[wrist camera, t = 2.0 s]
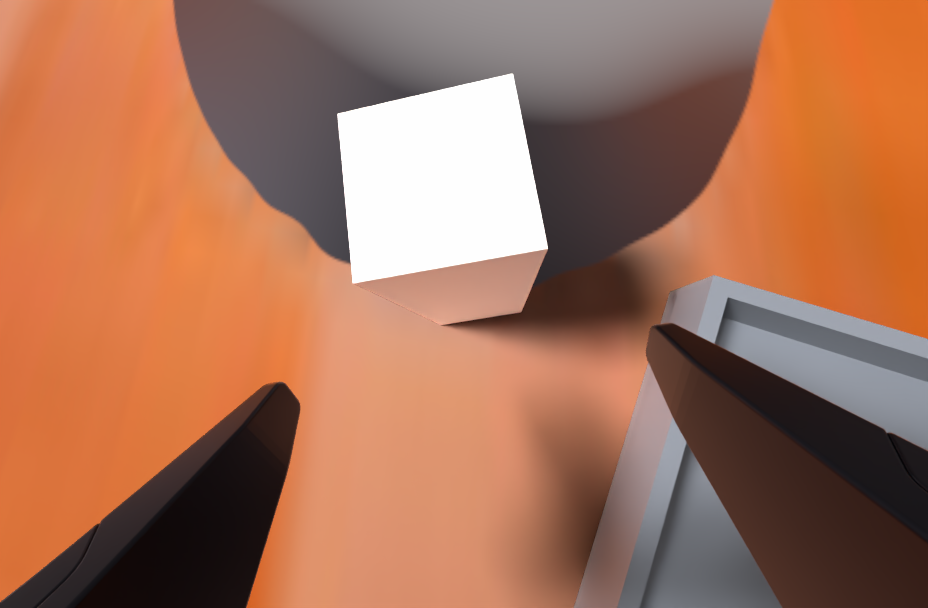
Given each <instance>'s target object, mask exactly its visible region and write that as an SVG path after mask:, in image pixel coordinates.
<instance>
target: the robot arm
mask: <svg viewBox="0 0 928 608" xmlns="http://www.w3.org/2000/svg"><path fill="white" fill-rule="evenodd" d="M646 357H647V360H648V362H649V365H650V367H651V369H652V372H653V374H654V376H655V378H656V381H657V383H658V385H659V388H660V390H661V392H662V394H663V397H664V399H665V401H666V404H667V406H668V408H669V410H670V413H671V415H672V417H673V419H674V421H675V423H676V425H677V426H678V428H679V430H680V432H681V434H682V435H683V437H684V439H685V440H686V442H687V444H688V446H689V447H690V449H691V451H692V453H693V454H694V456H695V458H696V459H697V461H698V463H699V465H700V466H701V468H702V470H703V472H704V473H705V475H706V477H707V479H708V480H709V482H710V484H711V485H712V487H713V489H714V491H715V492H716V494H717V496H718V498H719V499H720V501H721V503H722V504H723V506H724V508H725V510H726V511H727V513H728V515H729V517H730V518H731V520H732V522H733V523H734V525H735V527H736V529H737V530H738V532H739V534H740V536H741V537H742V539H743V541H744V542H745V544H746V546H747V548H748V549H749V551H750V553H751V555H752V556H753V558H754V560H755V562H756V563H757V565H758V567H759V568H760V570H761V572H762V574H763V575H764V577H765V579H766V581H767V582H768V584H769V586H770V587H771V589H772V591H773V593H774V594H775V596H776V598H777V600H778V601H779V603H780V605H781V606H782V608H928V450H926V449H924V448H922V447H920V446H918V445H916V444H914V443H912V442H910V441H908V440H906V439H904V438H902V437H900V436H898V435H896V434H894V433H890V432H888V433H887V432H886V431H885V429H883V428H881V427H879V426H877V425H875V424H873V423H871V422H869V421H867V420H865V419H863V418H861V417H859V416H857V415H855V414H854V413H852V412H850V411H848V410H846V409H844V408H842V407H840V406H838V405H836V404H834V403H832V402H830V401H828V400H826V399H824V398H822V397H820V396H818V395H816V394H814V393H812V392H810V391H808V390H806V389H804V388H802V387H800V386H798V385H796V384H794V383H792V382H790V381H788V380H786V379H784V378H782V377H780V376H778V375H776V374H774V373H772V372H770V371H768V370H766V369H764V368H762V367H760V366H758V365H756V364H754V363H752V362H750V361H748V360H746V359H744V358H742V357H740V356H738V355H736V354H734V353H732V352H730V351H728V350H726V349H724V348H722V347H720V346H718V345H716V344H714V343H712V342H710V341H708V340H706V339H704V338H702V337H700V336H698V335H696V334H694V333H692V332H690V331H688V330H686V329H684V328H682V327H680V326H678V325H676V324H674V323H662V324H656V325H653V326H652V327H651V328H650V332H649V337H648V342H647V348H646ZM299 414H300V403H299V401H298V399H297V398H296V396H295V395H294V394H293V393H292V391H291V390H290V389H289V387H288V386H287V385H286V384H285V383H283V382H275V383H268V384H266V385H264V386H262V387H261V388H260V389H259V390H258V391H256V392H255V393H254V394H253V395H252V396H250V397H249V398H248V399H247V400H246V401H244V402H243V403H242V404H241V405H240V406H238V407H237V408H236V409H235V410H234V411H232V412H231V413H230V414H229V415H228V416H226V417H225V418H224V419H223V420H222V421H220V422H219V423H218V424H217V425H216V426H214V427H213V428H212V429H211V430H210V431H208V432H207V433H206V434H205V435H203V436H202V437H201V438H200V439H199V440H197V441H196V442H195V443H194V444H193V445H191V446H190V447H189V448H188V449H187V450H185V451H184V452H183V453H182V454H181V455H179V456H178V457H177V458H176V459H175V460H173V461H172V462H171V463H170V464H169V465H167V466H166V467H165V468H164V469H163V470H161V471H160V472H159V473H158V474H157V475H155V476H154V477H153V478H152V479H151V480H149V481H148V482H147V483H146V484H145V485H143V486H142V487H141V488H140V489H139V490H137V491H136V492H135V493H134V494H133V495H131V496H130V497H129V498H128V499H127V500H125V501H124V502H123V503H122V504H121V505H119V506H118V507H117V508H116V509H114V510H113V511H112V512H111V513H110V514H108V515H107V516H106V517H105V518H104V519H102V521H101V522H100V523H99V524H96V525H95V526H94V527H93V528H91V529H90V530H89V531H88V532H87V533H85V534H84V535H83V536H82V537H81V538H80V539H78V540H77V541H76V542H75V543H74V544H72V545H71V546H70V547H69V548H67V549H66V550H65V551H64V552H62V553H61V554H60V555H59V556H58V557H56V558H55V559H54V560H53V561H51V562H50V563H49V564H48V565H47V566H45V567H44V568H43V569H42V570H40V571H39V572H38V573H37V574H35V575H34V576H33V577H32V578H30V579H29V580H28V581H26V582H25V583H24V584H23V585H21V586H20V587H19V588H18V589H16V590H15V591H14V592H12V593H11V594H10V595H9V596H7V597H6V598H5V599H4V600H2V601H1V602H0V608H246V607H247V604H248V601H249V597H250V594H251V591H252V587H253V584H254V581H255V578H256V574H257V571H258V568H259V564H260V561H261V558H262V555H263V551H264V548H265V545H266V541H267V538H268V535H269V532H270V528H271V525H272V522H273V518H274V515H275V512H276V508H277V505H278V502H279V499H280V495H281V492H282V489H283V485H284V482H285V479H286V475H287V472H288V468H289V463H290V459H291V454H292V449H293V444H294V439H295V434H296V429H297V424H298V419H299Z"/></svg>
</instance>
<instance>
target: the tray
mask: <svg viewBox="0 0 928 608" xmlns="http://www.w3.org/2000/svg"><path fill="white" fill-rule="evenodd" d="M662 323H674V324H676V325H678V326H680V327H682V328H684V329H686V330H688V331H690V332H692V333H694V334H696V335H698V336H700V337H702V338H704V339H706V340H708V341H710V342H712V343H714V344H716V345H718V346H720V347H722V348H724V349H726V350H728V351H730V352H732V353H734V354H736V355H738V356H740V357H742V358H744V359H746V360H748V361H750V362H752V363H754V364H756V365H758V366H760V367H762V368H764V369H766V370H768V371H770V372H772V373H774V374H776V375H778V376H780V377H782V378H784V379H786V380H788V381H790V382H792V383H794V384H796V385H798V386H800V387H802V388H804V389H806V390H808V391H810V392H812V393H814V394H816V395H818V396H820V397H822V398H824V399H826V400H828V401H830V402H832V403H834V404H836V405H838V406H840V407H842V408H844V409H846V410H848V411H850V412H852V413H854V414H855V415H857V416H859V417H861V418H863V419H865V420H867V421H869V422H871V423H873V424H875V425H877V426H879V427H881V428H883V429H885V431H886V432H887V433H888V432H890V433H894V434H896V435H898V436H900V437H902V438H904V439H906V440H908V441H910V442H912V443H914V444H916V445H918V446H920V447H922V448H924V449H926V450H928V339H926V338H922V337H919V336H916V335H912V334H909V333H905V332H902V331H899V330H895V329H892V328H889V327H885V326H882V325H879V324H875V323H872V322H869V321H865V320H862V319H859V318H855V317H852V316H849V315H845V314H842V313H839V312H835V311H832V310H828V309H825V308H822V307H818V306H815V305H812V304H808V303H805V302H802V301H798V300H795V299H792V298H788V297H785V296H782V295H778V294H775V293H772V292H768V291H765V290H762V289H758V288H755V287H751V286H748V285H745V284H741V283H738V282H735V281H731V280H728V279H725V278H721V277H718V276H715V275H713V276H711V277H708V278H705V279H703V280H700V281H697V282H695V283H692V284H690V285H687V286H684V287H682V288H679V289H676V290H674V291H671V292H670V293H669V297H668V300H667V303H666V307H665V310H664V313H663V316H662V320H661V323H660V324H662ZM574 608H782V606H781V605H780V603H779V601H778V600H777V598H776V596H775V594H774V593H773V591H772V589H771V587H770V586H769V584H768V582H767V581H766V579H765V577H764V575H763V574H762V572H761V570H760V568H759V567H758V565H757V563H756V562H755V560H754V558H753V556H752V555H751V553H750V551H749V549H748V548H747V546H746V544H745V542H744V541H743V539H742V537H741V536H740V534H739V532H738V530H737V529H736V527H735V525H734V523H733V522H732V520H731V518H730V517H729V515H728V513H727V511H726V510H725V508H724V506H723V504H722V503H721V501H720V499H719V498H718V496H717V494H716V492H715V491H714V489H713V487H712V485H711V484H710V482H709V480H708V479H707V477H706V475H705V473H704V472H703V470H702V468H701V466H700V465H699V463H698V461H697V459H696V458H695V456H694V454H693V453H692V451H691V449H690V447H689V446H688V444H687V442H686V440H685V439H684V437H683V435H682V434H681V432H680V430H679V428H678V426H677V425H676V423H675V421H674V419H673V417H672V415H671V413H670V410H669V408H668V406H667V404H666V401H665V399H664V397H663V394H662V392H661V390H660V388H659V385H658V383H657V381H656V378H655V376H654V374H653V372H652V369H651V367H650V365H649V362H648V366H647V369H646V372H645V376H644V379H643V382H642V385H641V389H640V392H639V395H638V398H637V402H636V405H635V408H634V412H633V415H632V418H631V421H630V425H629V428H628V431H627V435H626V438H625V441H624V444H623V448H622V451H621V454H620V458H619V461H618V464H617V467H616V471H615V474H614V477H613V481H612V484H611V487H610V490H609V494H608V497H607V500H606V504H605V507H604V510H603V513H602V517H601V520H600V523H599V526H598V530H597V533H596V536H595V540H594V543H593V546H592V549H591V553H590V556H589V559H588V563H587V566H586V569H585V572H584V576H583V579H582V582H581V586H580V589H579V592H578V595H577V599H576V602H575V605H574Z"/></svg>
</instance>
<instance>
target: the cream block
mask: <svg viewBox="0 0 928 608" xmlns="http://www.w3.org/2000/svg"><path fill="white" fill-rule="evenodd" d="M338 124H339V134H340V146H341V158H342V168H343V180H344V191H345V202H346V213H347V223H348V234H349V245H350V257H351V268H352V279H353V284H355V285H357V286H360V287H362V288H364V289H366V290H368V291H370V292H372V293H374V294H376V295H378V296H380V297H383V298H385V299H387V300H389V301H391V302H393V303H395V304H397V305H399V306H401V307H404V308H406V309H408V310H410V311H412V312H414V313H416V314H418V315H420V316H422V317H424V318H427V319H429V320H431V321H433V322H435V323H437V324H439V325H445V324H452V323H458V322H464V321H470V320H476V319H483V318H489V317H495V316H501V315H508V314H514V313H520V312H522V309H523V307H524V305H525V302H526V300H527V298H528V295H529V293H530V290H531V288H532V286H533V283H534V281H535V278H536V276H537V274H538V271H539V269H540V266H541V264H542V262H543V259H544V257H545V254H546V252H547V250H548V246H547V242H546V236H545V231H544V226H543V221H542V217H541V212H540V207H539V202H538V197H537V192H536V187H535V182H534V177H533V172H532V167H531V162H530V157H529V152H528V147H527V142H526V137H525V132H524V127H523V122H522V117H521V112H520V107H519V102H518V97H517V92H516V87H515V82H514V78H513V74H508V75H504V76H500V77H495V78H491V79H487V80H483V81H478V82H473V83H469V84H465V85H460V86H456V87H452V88H447V89H443V90H439V91H435V92H430V93H426V94H421V95H417V96H413V97H408V98H404V99H400V100H395V101H391V102H386V103H383V104H378V105H374V106H369V107H365V108H360V109H356V110H352V111H347V112H343V113H339V114H338Z"/></svg>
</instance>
